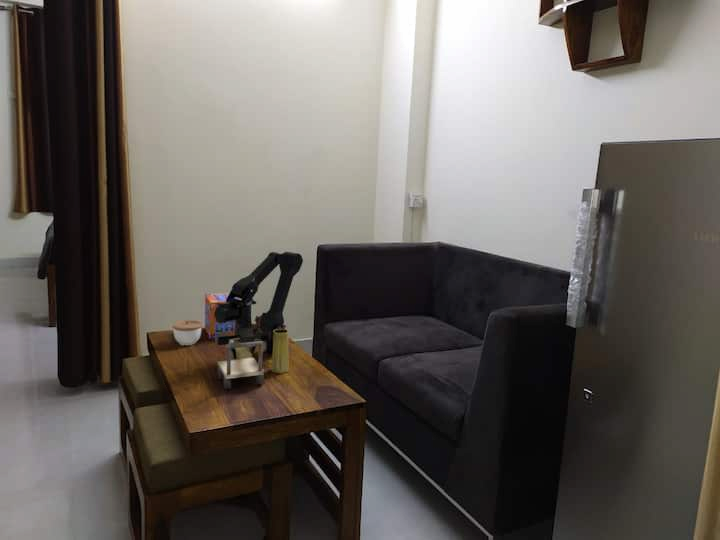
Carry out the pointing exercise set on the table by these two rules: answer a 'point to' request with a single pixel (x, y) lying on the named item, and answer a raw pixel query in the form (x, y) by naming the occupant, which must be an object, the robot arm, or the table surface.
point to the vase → (280, 351)
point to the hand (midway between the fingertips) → (242, 359)
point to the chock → (243, 353)
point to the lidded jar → (187, 332)
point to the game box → (210, 321)
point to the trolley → (241, 365)
